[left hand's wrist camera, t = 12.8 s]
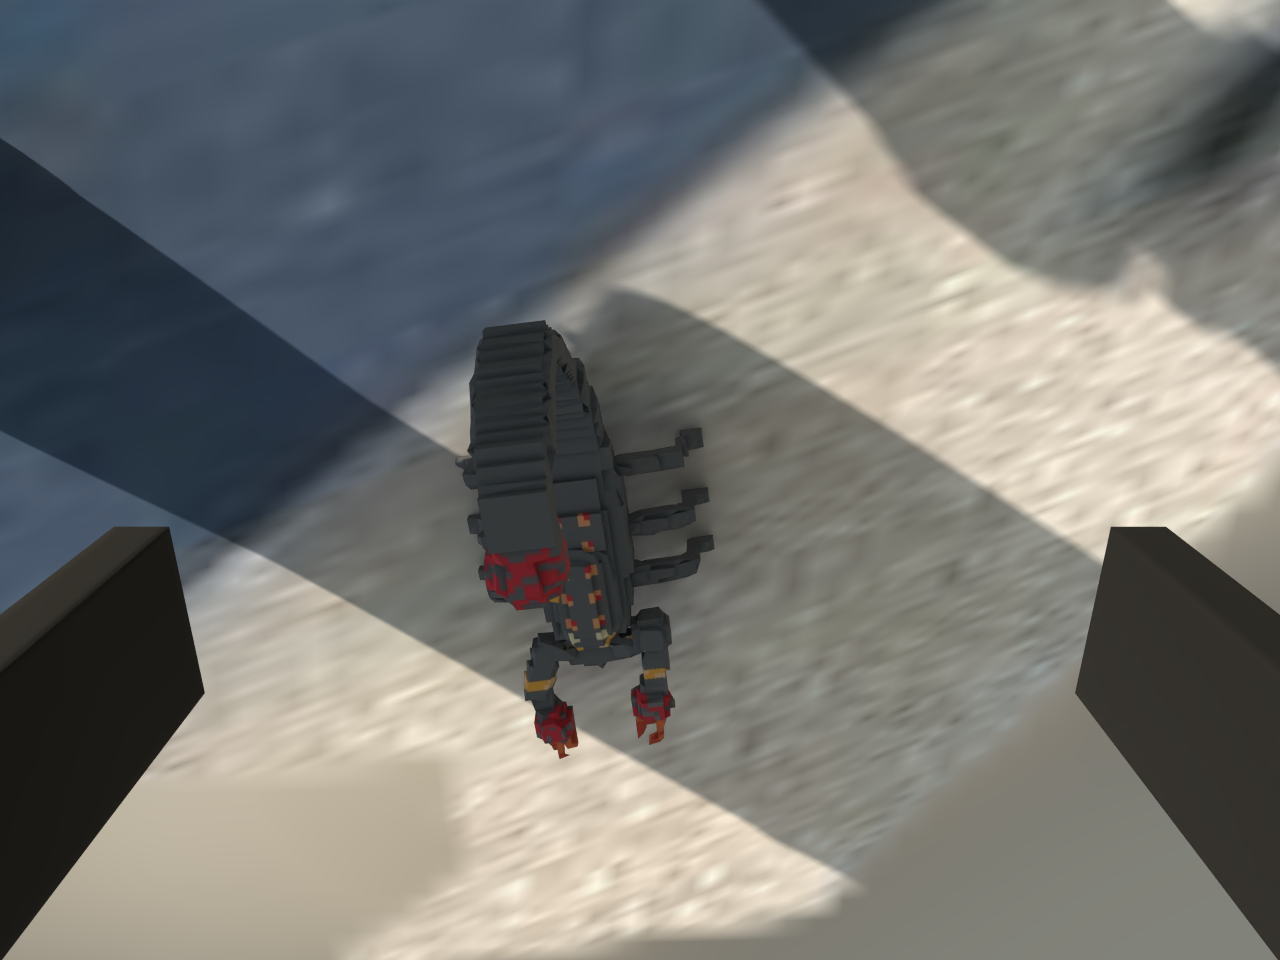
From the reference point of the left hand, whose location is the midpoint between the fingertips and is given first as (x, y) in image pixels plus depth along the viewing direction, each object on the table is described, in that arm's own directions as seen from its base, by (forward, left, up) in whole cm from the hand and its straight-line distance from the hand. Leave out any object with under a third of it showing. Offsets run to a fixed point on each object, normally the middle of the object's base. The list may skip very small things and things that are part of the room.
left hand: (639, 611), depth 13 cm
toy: (-7, -13, -35) cm, 38 cm away
